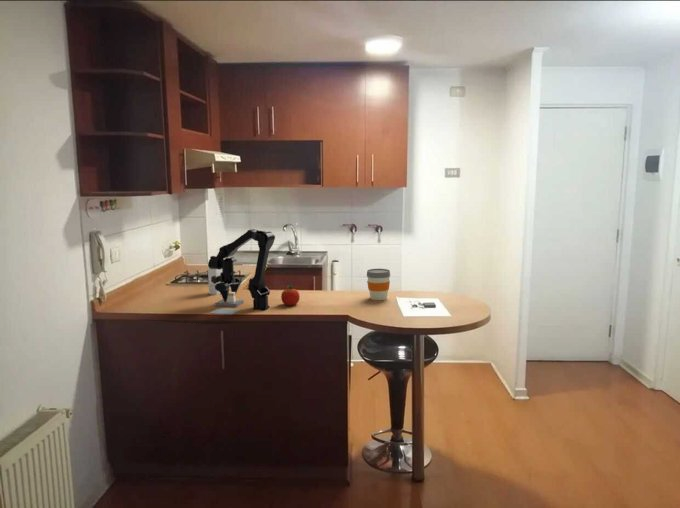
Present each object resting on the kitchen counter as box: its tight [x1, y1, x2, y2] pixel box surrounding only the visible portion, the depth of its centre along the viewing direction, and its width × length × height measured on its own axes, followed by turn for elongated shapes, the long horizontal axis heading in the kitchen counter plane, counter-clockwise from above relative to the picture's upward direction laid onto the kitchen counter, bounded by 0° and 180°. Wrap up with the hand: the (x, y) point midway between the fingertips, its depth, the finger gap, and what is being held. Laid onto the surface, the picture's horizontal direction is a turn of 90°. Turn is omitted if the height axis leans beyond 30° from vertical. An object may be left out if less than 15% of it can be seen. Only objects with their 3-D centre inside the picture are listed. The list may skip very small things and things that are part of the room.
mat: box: [209, 308, 240, 316], centre depth 248 cm, size 12×8×1 cm, turn 75°
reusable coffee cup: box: [366, 268, 391, 301], centre depth 269 cm, size 13×13×15 cm
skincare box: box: [207, 267, 222, 296], centre depth 287 cm, size 8×7×16 cm
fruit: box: [280, 285, 300, 307], centre depth 259 cm, size 10×10×10 cm
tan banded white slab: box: [223, 291, 237, 302], centre depth 261 cm, size 6×2×6 cm, turn 75°
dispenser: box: [215, 298, 245, 308], centre depth 261 cm, size 12×8×2 cm, turn 75°
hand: (229, 299), depth 261 cm, fingers open, 9 cm apart
